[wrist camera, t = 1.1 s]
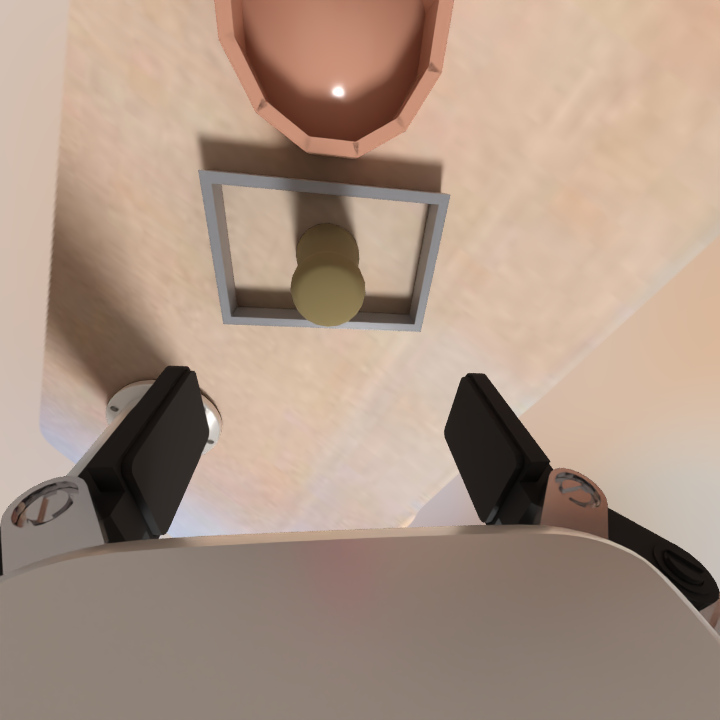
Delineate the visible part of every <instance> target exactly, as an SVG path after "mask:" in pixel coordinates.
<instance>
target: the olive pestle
mask: <svg viewBox="0 0 720 720" xmlns="http://www.w3.org/2000/svg"><path fill="white" fill-rule="evenodd" d="M296 258H297V263H298V266H297V268H296V270H295V272H294V274H293V277H292V282H291V294H292V299H293V302H294V304H295V306H296V308H297V310H298V311H299V313H300V314H301V315H302V316H303V317H304V318H306V319H307V320H308V321H310V322H312V323H314V324H316V325H320V326H326V327H330V326H339V325H341V324H343V323H346V322H348V321H349V320H350V319H352V318H353V317H354V316H355V315H356V314H357V313H358V311H359V309H360V308H361V306H362V304H363V300H364V297H365V281H364V279H363V276H362V274H361V272H360V269H359V268H358V264H359V250H358V247H357V244H356V242H355V239H354V238H353V237H352V236H351V235H350V233H349V232H348V231H346V230H345V229H343V228H342V227H340V226H338V225H334V224H330V223H327V224H318V225H316V226H314V227H312V228H310V229H308V230H307V231H306V232H305V233H304V234H303V235H302V237H301V239H300V241H299V243H298V245H297V252H296Z"/></svg>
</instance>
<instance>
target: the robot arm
mask: <svg viewBox="0 0 720 720" xmlns="http://www.w3.org/2000/svg"><path fill="white" fill-rule="evenodd" d="M106 418H107V423H108V425H109V426H108V427H107V428H106V429H105V430H104V432H103V433H102V434H101V435H100V436H99V438H98V439H97V440H96V441H95V442H94V443H93V445H92V446H91V447H90V448H89V449H88V451H87V452H86V453H85V454H84V455H83V457H82V458H81V459H80V460H79V461H78V462H77V464H76V465H75V466H74V467H73V468H72V470H71V471H70V472H69V473H68V474H67V475H66V476H64V477H58V478H54V479H51V480H48V481H45V482H42V483H40V484H38V485H37V486H34V487H32V488H31V489H29V490H27V491H26V492H25V493H23V494H22V495H20V496H19V497H18V498H17V499H16V500H15V501H14V502H13V503H12V504H10V505H9V506H8V508H7V509H6V511H5V512H4V514H3V516H2V520H1V524H0V720H720V592H719V589H718V586H717V584H716V582H715V580H714V579H713V577H712V576H711V574H710V573H709V572H708V570H707V569H706V568H705V567H704V566H703V565H702V564H701V563H700V562H699V561H698V560H696V559H695V558H694V557H693V556H692V555H691V554H689V553H688V552H686V551H685V550H683V549H682V548H680V547H678V546H677V545H675V544H673V543H671V542H669V541H668V540H666V539H664V538H662V537H660V536H658V535H657V534H654V533H653V532H651V531H649V530H648V529H646V528H644V527H642V526H640V525H638V524H636V523H635V522H633V521H631V520H629V519H628V518H626V517H624V516H622V515H620V514H618V513H617V512H615V511H613V510H611V509H609V508H608V504H607V499H606V497H605V495H604V493H603V492H602V490H601V489H600V488H599V487H598V486H597V485H596V484H595V483H594V482H593V481H592V480H590V479H589V478H587V477H586V476H584V475H582V474H581V473H579V472H576V471H574V470H571V469H566V468H557V469H554V470H553V469H552V467H551V466H550V465H549V462H550V460H549V459H548V458H547V456H546V455H545V454H544V452H543V451H542V450H541V448H540V447H539V446H538V444H537V443H536V441H535V440H534V439H533V438H532V436H531V435H530V433H529V432H528V431H527V429H526V428H525V427H524V426H523V424H522V423H521V421H520V420H519V419H518V417H517V416H516V415H515V413H514V412H513V411H512V409H511V408H510V407H509V405H508V404H507V403H506V401H505V400H504V399H503V397H502V396H501V395H500V393H499V392H498V391H497V389H496V388H495V387H494V385H493V384H492V383H491V381H490V380H489V379H488V377H487V376H486V375H485V374H482V373H468V374H467V375H466V376H465V377H462V378H461V381H460V384H459V387H458V390H457V393H456V396H455V399H454V402H453V405H452V408H451V411H450V414H449V417H448V420H447V423H446V426H445V430H444V435H445V439H446V441H447V444H448V446H449V449H450V451H451V453H452V456H453V458H454V460H455V463H456V465H457V467H458V470H459V472H460V474H461V477H462V479H463V481H464V484H465V486H466V488H467V490H468V493H469V495H470V498H471V500H472V502H473V505H474V507H475V509H476V512H477V514H478V516H479V518H480V520H481V521H482V522H485V523H486V525H470V526H440V527H412V528H383V529H357V530H332V531H307V532H284V533H262V534H239V535H217V536H197V537H181V538H166V539H160V538H161V536H162V535H164V534H166V533H167V531H168V529H169V527H170V525H171V523H172V521H173V518H174V516H175V514H176V511H177V509H178V507H179V505H180V502H181V500H182V498H183V495H184V493H185V491H186V489H187V486H188V484H189V482H190V480H191V477H192V475H193V473H194V470H195V468H196V466H197V464H198V461H199V459H200V457H201V455H204V454H206V453H207V452H209V451H210V450H211V449H212V448H213V447H214V446H215V445H216V443H217V442H218V440H219V437H220V435H221V432H222V421H221V417H220V415H219V413H218V411H217V409H216V408H215V407H214V405H213V404H212V403H211V402H210V401H209V400H208V399H207V398H205V397H204V396H203V395H201V393H200V388H199V384H198V380H197V376H196V373H195V371H190V369H189V367H187V366H168V367H166V368H165V370H164V371H163V372H162V373H161V375H160V376H159V377H158V378H157V380H145V381H139V382H135V383H131V384H129V385H127V386H125V387H123V388H122V389H121V390H119V391H118V392H117V393H116V394H115V395H114V396H113V397H112V399H111V400H110V401H109V403H108V405H107V409H106Z"/></svg>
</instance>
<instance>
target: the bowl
mask: <svg viewBox="0 0 720 720" xmlns="http://www.w3.org/2000/svg"><path fill="white" fill-rule="evenodd" d="M214 2H215V11H216V19H217V28H218V37H219V41H220V43H221V45H222V47H223V49H224V51H225V53H226V55H227V57H228V59H229V61H230V63H231V65H232V67H233V68H234V70H235V72H236V74H237V76H238V78H239V80H240V82H241V84H242V86H243V88H244V90H245V92H246V94H247V96H248V98H249V100H250V102H251V104H252V106H253V108H254V110H255V112H256V113H257V114H259V115H260V116H261V117H262V118H264V119H265V120H266V121H267V122H269V123H270V124H271V125H272V126H274V127H275V128H276V129H277V130H279V131H280V132H281V133H283V134H284V135H285V136H286V137H288V138H289V139H290V140H291V141H293V142H294V143H295V144H296V145H298V146H299V147H300V148H301V149H303V150H304V151H305V152H307V153H308V154H314V155H323V156H332V157H341V158H350V159H355V158H358V157H360V156H362V155H363V154H365V153H367V152H369V151H371V150H372V149H374V148H376V147H378V146H379V145H381V144H383V143H385V142H387V141H388V140H390V139H392V138H394V137H396V136H397V135H399V134H401V133H403V132H405V131H406V130H407V128H408V126H409V125H410V123H411V121H412V120H413V118H414V117H415V115H416V113H417V112H418V110H419V109H420V107H421V105H422V104H423V102H424V101H425V99H426V97H427V96H428V94H429V93H430V91H431V89H432V88H433V86H434V84H435V83H436V81H437V80H438V78H439V76H440V75H441V73H442V68H443V62H444V56H445V50H446V44H447V38H448V33H449V27H450V21H451V15H452V9H453V3H454V0H214Z"/></svg>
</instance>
